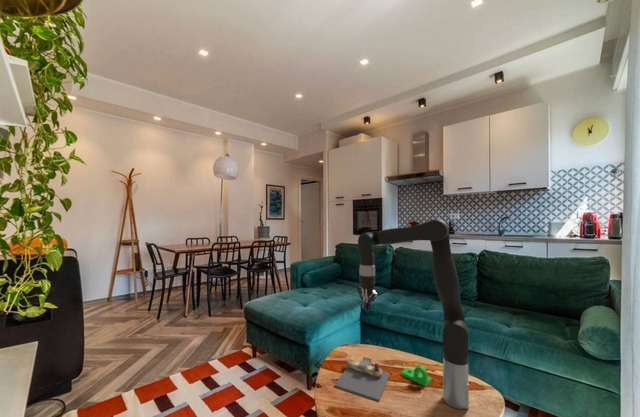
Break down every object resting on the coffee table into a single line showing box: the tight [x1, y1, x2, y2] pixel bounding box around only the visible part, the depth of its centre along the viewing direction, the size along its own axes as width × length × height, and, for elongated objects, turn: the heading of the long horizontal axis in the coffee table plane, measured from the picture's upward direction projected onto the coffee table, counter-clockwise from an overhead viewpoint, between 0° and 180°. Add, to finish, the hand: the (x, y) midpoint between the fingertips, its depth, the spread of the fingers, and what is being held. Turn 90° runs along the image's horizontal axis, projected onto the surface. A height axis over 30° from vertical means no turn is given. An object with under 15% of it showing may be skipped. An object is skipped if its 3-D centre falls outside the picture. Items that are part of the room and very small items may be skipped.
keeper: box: [359, 356, 373, 369], centre depth 129 cm, size 4×8×4 cm, turn 153°
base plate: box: [334, 366, 391, 402], centre depth 123 cm, size 20×20×1 cm
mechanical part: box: [400, 365, 433, 387], centre depth 125 cm, size 12×6×8 cm, turn 43°
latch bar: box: [346, 358, 383, 378], centre depth 129 cm, size 17×4×5 cm, turn 59°
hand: (367, 309), depth 129 cm, fingers closed
